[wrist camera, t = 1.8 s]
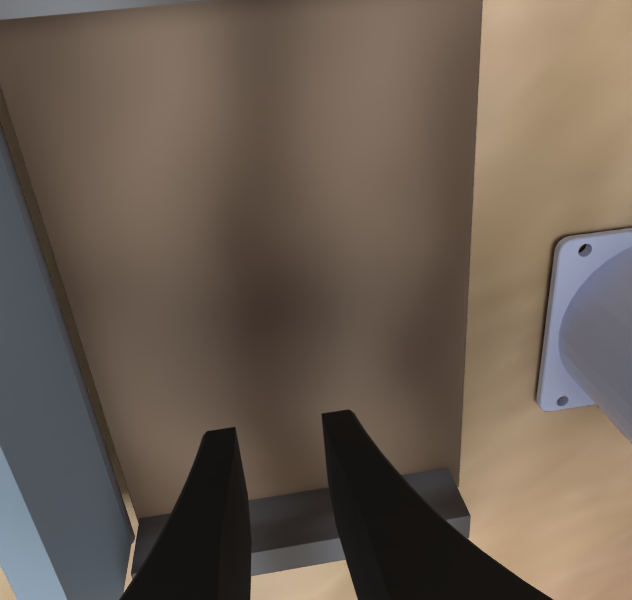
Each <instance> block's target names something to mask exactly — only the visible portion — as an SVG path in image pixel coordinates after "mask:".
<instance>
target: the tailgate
mask: <svg viewBox="0 0 632 600" xmlns="http://www.w3.org/2000/svg"><path fill="white" fill-rule="evenodd" d="M134 540H135V535H134V532H133V529H132V526H131V523H130V520H129V517H128V514H127V510H126V507H125V504H124V501H123V498H122V495H121V492H120V489H119V486H118V483H117V480H116V477H115V473H114V470H113V467H112V464H111V461H110V458H109V455H108V452H107V449H106V446H105V443H104V440H103V437H102V433H101V430H100V427H99V424H98V421H97V418H96V415H95V412H94V409H93V406H92V403H91V400H90V397H89V393H88V390H87V387H86V384H85V381H84V378H83V375H82V372H81V369H80V366H79V363H78V360H77V357H76V353H75V350H74V347H73V344H72V341H71V338H70V335H69V332H68V329H67V326H66V323H65V320H64V316H63V313H62V310H61V307H60V304H59V301H58V298H57V295H56V292H55V289H54V286H53V283H52V280H51V276H50V273H49V270H48V267H47V264H46V261H45V258H44V255H43V252H42V249H41V246H40V243H39V240H38V236H37V233H36V230H35V227H34V224H33V221H32V218H31V215H30V212H29V209H28V206H27V203H26V200H25V196H24V193H23V190H22V187H21V184H20V181H19V178H18V175H17V172H16V169H15V166H14V163H13V160H12V156H11V153H10V150H9V147H8V144H7V141H6V138H5V135H4V132H3V129H2V126H1V123H0V566H1V568H2V570H3V572H4V574H5V576H6V578H7V580H8V582H9V584H10V586H11V588H12V590H13V592H14V594H15V596H16V598H17V600H119V599H120V598H121V596H122V595H123V592H124V585H125V579H126V573H127V567H128V561H129V555H130V549H131V544H132V543H133V542H134Z"/></svg>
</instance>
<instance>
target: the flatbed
mask: <svg viewBox="0 0 632 600" xmlns="http://www.w3.org/2000/svg"><path fill="white" fill-rule="evenodd" d="M482 3H483V0H0V87H1V90H2V93H3V96H4V99H5V102H6V106H7V109H8V112H9V115H10V118H11V121H12V125H13V128H14V131H15V134H16V137H17V140H18V144H19V147H20V150H21V153H22V156H23V159H24V163H25V166H26V169H27V172H28V175H29V178H30V182H31V185H32V188H33V191H34V194H35V197H36V201H37V204H38V207H39V210H40V213H41V216H42V220H43V223H44V226H45V229H46V232H47V235H48V239H49V242H50V245H51V248H52V251H53V254H54V258H55V261H56V264H57V267H58V270H59V273H60V277H61V280H62V283H63V286H64V289H65V292H66V296H67V299H68V302H69V305H70V308H71V311H72V315H73V318H74V321H75V324H76V327H77V330H78V334H79V337H80V340H81V343H82V346H83V349H84V353H85V356H86V359H87V362H88V365H89V368H90V372H91V375H92V378H93V381H94V384H95V387H96V391H97V394H98V397H99V400H100V403H101V406H102V410H103V413H104V416H105V419H106V422H107V425H108V428H109V432H110V435H111V438H112V441H113V444H114V447H115V451H116V454H117V457H118V460H119V463H120V466H121V470H122V473H123V476H124V479H125V482H126V485H127V489H128V492H129V495H130V498H131V501H132V504H133V508H134V511H135V514H136V517H137V520H138V523H139V526H138V532H137V538H136V545H135V551H134V557H133V564H132V570H131V576H132V579H133V578H134V577H135V575H136V574H137V572H138V571H139V569H140V567H141V566H142V564H143V563H144V561H145V559H146V558H147V556H148V554H149V553H150V551H151V549H152V547H153V546H154V544H155V542H156V540H157V538H158V537H159V535H160V533H161V531H162V529H163V527H164V525H165V524H166V522H167V520H168V518H169V516H170V514H171V512H172V510H173V508H174V506H175V504H176V502H177V500H178V497H179V495H180V493H181V491H182V489H183V487H184V484H185V482H186V480H187V478H188V475H189V473H190V470H191V468H192V465H193V463H194V460H195V458H196V455H197V452H198V449H199V446H200V443H201V439H202V436H203V435H204V434H205V433H206V432H207V431H211V430H217V429H224V428H230V427H236V433H237V438H238V444H239V449H240V454H241V460H242V465H243V471H244V476H245V481H246V487H247V492H248V500H249V512H250V525H251V538H252V551H251V576H255V575H260V574H266V573H272V572H277V571H283V570H289V569H295V568H300V567H306V566H312V565H317V564H323V563H329V562H334V561H340V560H346V558H345V555H344V552H343V548H342V545H341V541H340V538H339V535H338V531H337V528H336V523H335V518H334V513H333V508H332V502H331V497H330V492H329V486H328V479H327V468H326V457H325V447H324V436H323V425H322V415H321V414H322V413H328V412H335V411H341V410H348V409H349V410H351V411H352V412H354V413H355V415H356V417H357V418H358V420H359V422H360V423H361V425H362V426H363V428H364V429H365V431H366V432H367V433H368V435H369V436H370V438H371V439H372V440H373V442H374V443H375V444H376V446H377V447H378V448H379V449H380V451H381V452H382V453H383V454H384V456H385V457H386V458H387V459H388V460H389V462H390V463H391V464H392V465H393V466H394V467H395V469H396V470H397V471H398V472H399V473H400V474H401V476H402V477H403V478H404V479H405V480H406V481H407V482H408V483H409V484H410V486H411V487H412V488H413V489H414V490H415V491H416V492H417V493H418V494H419V495H420V496H421V497H422V498H423V499H424V500H425V501H426V502H427V503H428V504H429V505H430V506H431V507H432V508H433V509H434V510H435V511H436V512H437V513H438V514H440V515H441V516H442V517H443V518H444V519H445V520H446V521H447V522H448V523H449V524H451V525H452V526H453V527H454V528H455V529H456V530H457V531H459V532H460V533H461V534H462V535H463V536H465V537H466V538H469V531H470V514H469V511H468V509H467V507H466V505H465V503H464V501H463V499H462V497H461V495H460V492H459V490H458V488H457V487H459V470H460V449H461V429H462V409H463V389H464V368H465V348H466V328H467V307H468V287H469V267H470V246H471V226H472V206H473V186H474V165H475V145H476V125H477V104H478V84H479V64H480V43H481V23H482Z"/></svg>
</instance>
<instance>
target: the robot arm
mask: <svg viewBox="0 0 632 600" xmlns="http://www.w3.org/2000/svg"><path fill="white" fill-rule="evenodd" d="M584 244H586V247H585V249H584V250H583V251H582V252H579V253H578V251H579V248H580V247H581V246H582V245H584ZM562 396H563V397H562ZM560 397H562V398H561V399H560V400H558V399H559V398H560ZM536 401H537V404H538V405H539V407H540V408H541V409H542V410H543V411H549V412H550V411H556V410H562V409H569V408H575V407H581V406H588V405H594V404H596V405H597V406H598V407H599V408H600V409H601V410H602V411H603V412H604V414H605V415H606V416H607V417H608V418H609V419H610V420H611V421H612V422H613V423H614V425H615V426H616V427H617V428H618V429H619V430H620V431H621V432H622V433H623V435H624V436H625V437H626V438H627V439H628V440H629V441H630V442H631V443H632V228H627V229H619V230H612V231H604V232H596V233H589V234H581V235H574V236H568V237H565V238H563V239H562V240H560V241H559V242H558V244H557V245H556V248H555V252H554V260H553V269H552V277H551V285H550V293H549V301H548V309H547V317H546V325H545V334H544V342H543V350H542V358H541V366H540V374H539V382H538V390H537V399H536ZM321 415H322V425H323V436H324V447H325V457H326V468H327V479H328V486H329V492H330V497H331V502H332V508H333V513H334V518H335V523H336V528H337V531H338V535H339V538H340V541H341V545H342V548H343V552H344V555H345V558H346V562H347V565H348V568H349V572H350V575H351V578H352V582H353V585H354V588H355V592H356V595H357V598H358V600H553V599H551V598H550V597H548V596H547V595H545V594H544V593H542V592H541V591H539V590H537V589H536V588H534V587H533V586H531V585H530V584H528V583H527V582H525V581H523V580H522V579H521V578H519V577H518V576H516V575H515V574H514V573H512V572H511V571H510V570H508V569H507V568H505V567H504V566H503V565H501V564H500V563H498V562H497V561H496V560H494V559H493V558H491V557H490V556H489V555H487V554H486V553H484V552H483V551H482V550H481V549H479V548H478V547H477V546H476V545H474V544H473V543H472V542H471V541H470V540H468V539H467V538H466V537H465V536H463V535H462V534H461V533H460V532H459V531H457V530H456V529H455V528H454V527H453V526H452V525H451V524H449V523H448V522H447V521H446V520H445V519H444V518H443V517H442V516H441V515H440V514H438V513H437V512H436V511H435V510H434V509H433V508H432V507H431V506H430V505H429V504H428V503H427V502H426V501H425V500H424V499H423V498H422V497H421V496H420V495H419V494H418V493H417V492H416V491H415V490H414V489H413V488H412V487H411V486H410V484H409V483H408V482H407V481H406V480H405V479H404V478H403V477H402V476H401V474H400V473H399V472H398V471H397V470H396V469H395V467H394V466H393V465H392V464H391V463H390V462H389V460H388V459H387V458H386V457H385V456H384V454H383V453H382V452H381V451H380V449H379V448H378V447H377V446H376V444H375V443H374V442H373V440H372V439H371V438H370V436H369V435H368V433H367V432H366V431H365V429H364V428H363V426H362V425H361V423H360V422H359V420H358V418H357V417H356V415H355V413H354V412H352V411H351V410H349V409H348V410H341V411H335V412H328V413H322V414H321ZM251 551H252V538H251V525H250V512H249V500H248V492H247V487H246V481H245V476H244V471H243V465H242V460H241V454H240V449H239V444H238V438H237V433H236V427H230V428H224V429H217V430H211V431H207V432H206V433H205V434H204V435H203V436H202V439H201V443H200V446H199V449H198V452H197V455H196V458H195V460H194V463H193V465H192V468H191V470H190V473H189V475H188V478H187V480H186V482H185V484H184V487H183V489H182V491H181V493H180V495H179V497H178V500H177V502H176V504H175V506H174V508H173V510H172V512H171V514H170V516H169V518H168V520H167V522H166V524H165V525H164V527H163V529H162V531H161V533H160V535H159V537H158V538H157V540H156V542H155V544H154V546H153V547H152V549H151V551H150V553H149V554H148V556H147V558H146V559H145V561H144V563H143V564H142V566H141V567H140V569H139V571H138V572H137V574H136V575H135V577H134V578H133V580H132V581H131V583H130V584H129V586H128V587H127V589H126V590H125V592H124V593H123V595H122V596H121V598H120V599H119V600H250V589H251Z"/></svg>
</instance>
